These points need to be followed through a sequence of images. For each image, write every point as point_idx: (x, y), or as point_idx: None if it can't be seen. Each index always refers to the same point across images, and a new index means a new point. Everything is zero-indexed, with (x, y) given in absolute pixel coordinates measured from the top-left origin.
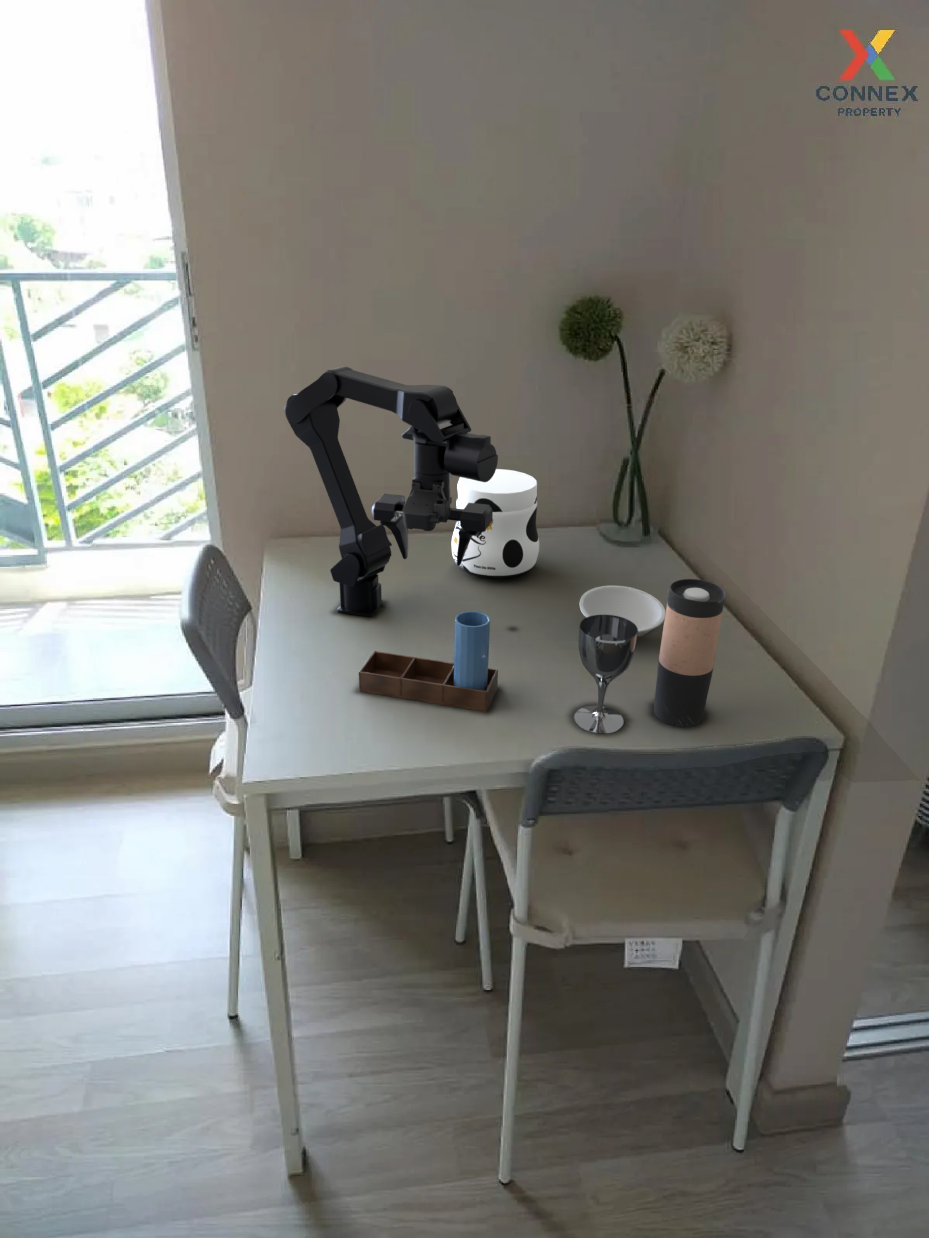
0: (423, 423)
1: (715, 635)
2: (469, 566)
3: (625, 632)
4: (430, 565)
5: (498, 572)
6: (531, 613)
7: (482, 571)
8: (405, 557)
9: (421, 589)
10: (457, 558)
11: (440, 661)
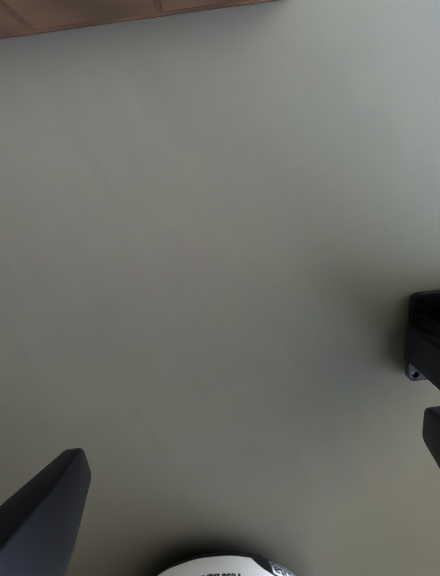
0: None
1: None
2: (253, 572)
3: None
4: (355, 559)
5: (179, 573)
6: None
7: (217, 565)
8: (435, 415)
9: (336, 464)
10: (46, 488)
11: None
